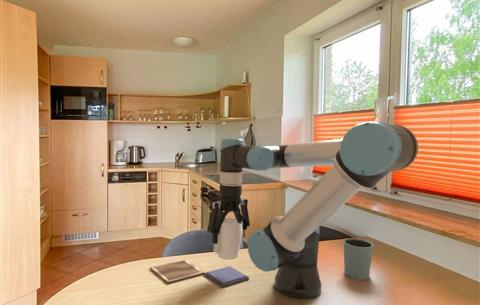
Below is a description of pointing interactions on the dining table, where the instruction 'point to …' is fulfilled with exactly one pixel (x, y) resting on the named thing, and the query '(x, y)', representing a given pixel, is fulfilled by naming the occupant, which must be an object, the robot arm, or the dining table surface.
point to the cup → (230, 238)
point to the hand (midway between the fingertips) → (228, 249)
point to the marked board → (176, 271)
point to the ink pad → (226, 276)
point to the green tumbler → (357, 258)
